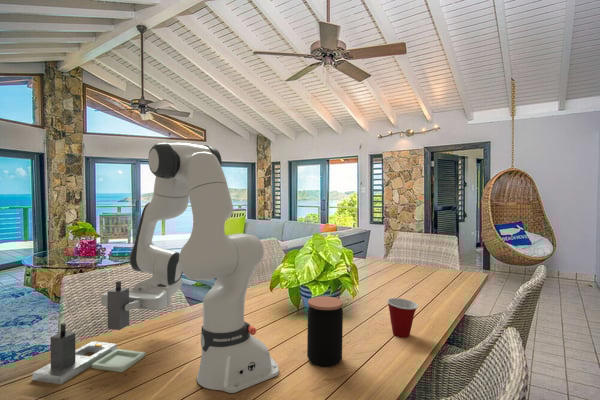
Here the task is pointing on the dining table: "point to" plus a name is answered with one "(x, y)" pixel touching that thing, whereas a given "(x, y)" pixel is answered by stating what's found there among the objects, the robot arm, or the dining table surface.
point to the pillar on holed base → (70, 357)
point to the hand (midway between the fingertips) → (116, 307)
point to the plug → (117, 307)
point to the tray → (118, 360)
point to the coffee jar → (325, 331)
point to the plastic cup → (401, 316)
